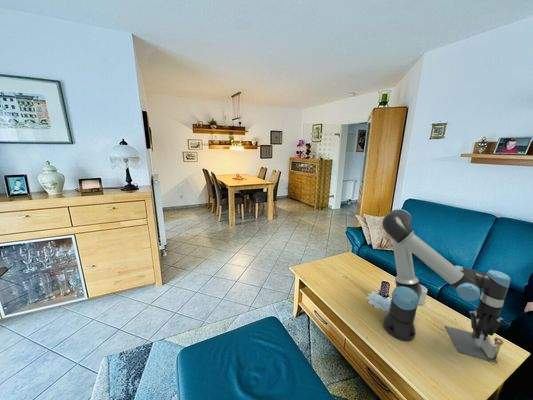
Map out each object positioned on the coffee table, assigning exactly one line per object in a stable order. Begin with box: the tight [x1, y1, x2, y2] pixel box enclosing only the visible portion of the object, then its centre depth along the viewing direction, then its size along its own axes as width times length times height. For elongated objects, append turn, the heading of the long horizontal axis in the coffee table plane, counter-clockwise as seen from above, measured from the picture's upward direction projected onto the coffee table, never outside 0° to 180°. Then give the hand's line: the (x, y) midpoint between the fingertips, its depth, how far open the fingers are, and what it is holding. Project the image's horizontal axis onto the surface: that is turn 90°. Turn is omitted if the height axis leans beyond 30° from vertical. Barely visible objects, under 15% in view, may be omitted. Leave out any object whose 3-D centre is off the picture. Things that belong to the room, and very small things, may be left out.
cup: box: [418, 284, 428, 306], centre depth 142 cm, size 8×12×10 cm
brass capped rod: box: [492, 337, 504, 360], centre depth 103 cm, size 3×3×11 cm
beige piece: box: [475, 336, 497, 358], centre depth 108 cm, size 12×2×7 cm, turn 160°
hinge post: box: [471, 317, 479, 339], centre depth 115 cm, size 3×3×11 cm
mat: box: [444, 325, 499, 364], centre depth 113 cm, size 15×17×1 cm
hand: (477, 344), depth 108 cm, fingers closed
